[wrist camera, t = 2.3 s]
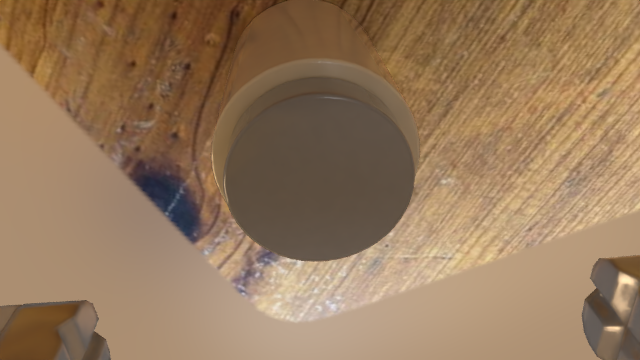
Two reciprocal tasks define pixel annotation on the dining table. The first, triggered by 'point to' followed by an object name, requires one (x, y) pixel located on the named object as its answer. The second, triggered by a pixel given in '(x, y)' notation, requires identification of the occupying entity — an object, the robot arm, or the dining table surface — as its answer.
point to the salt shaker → (313, 135)
